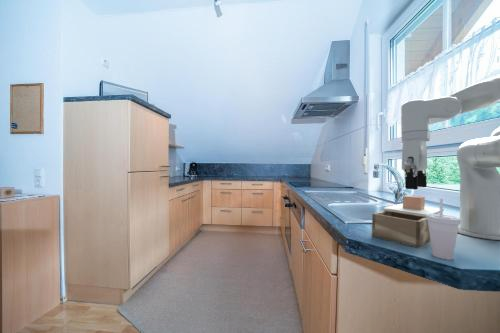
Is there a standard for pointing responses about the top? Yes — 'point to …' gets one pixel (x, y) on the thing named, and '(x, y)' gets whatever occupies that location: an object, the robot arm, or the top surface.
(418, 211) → the lid
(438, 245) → the smoothie
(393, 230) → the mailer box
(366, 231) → the top surface
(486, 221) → the robot arm
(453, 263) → the top surface
